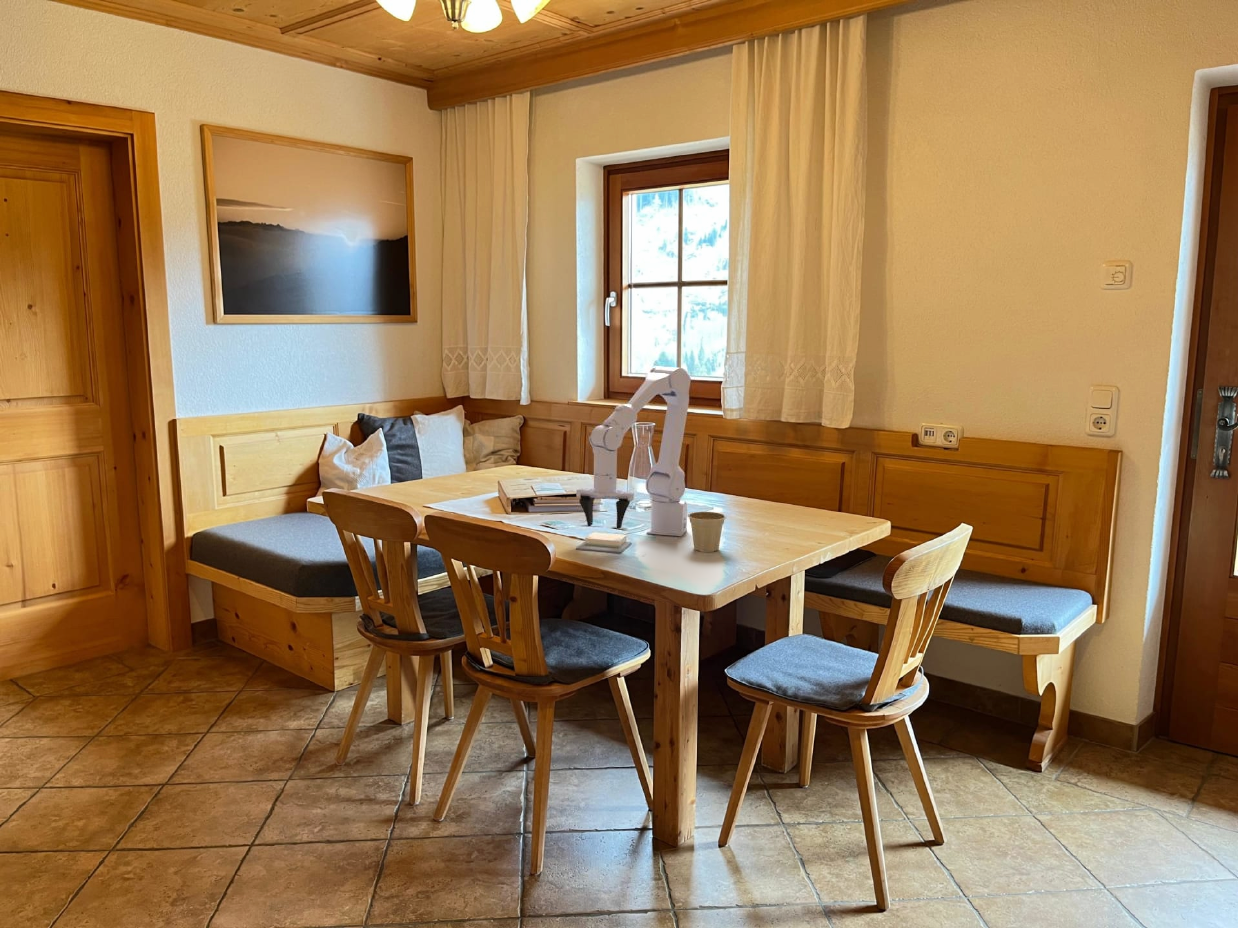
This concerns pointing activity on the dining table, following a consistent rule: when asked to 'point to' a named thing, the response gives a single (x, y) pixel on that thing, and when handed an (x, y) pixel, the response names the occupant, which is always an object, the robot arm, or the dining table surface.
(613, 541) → the tile
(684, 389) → the robot arm
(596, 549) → the mat
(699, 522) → the flower pot
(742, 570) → the dining table surface
